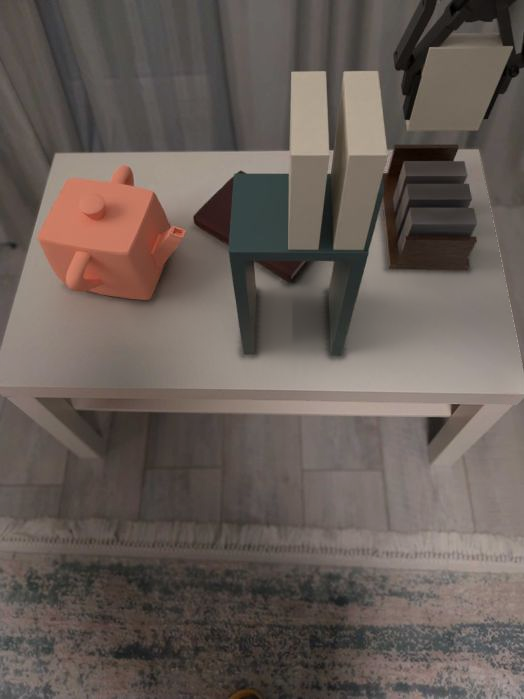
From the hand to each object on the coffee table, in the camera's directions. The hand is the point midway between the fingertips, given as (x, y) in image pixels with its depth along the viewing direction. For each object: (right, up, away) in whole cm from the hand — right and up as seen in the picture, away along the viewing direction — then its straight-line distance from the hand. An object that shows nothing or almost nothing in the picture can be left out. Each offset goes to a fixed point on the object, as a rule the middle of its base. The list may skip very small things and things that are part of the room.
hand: (444, 113), depth 70 cm
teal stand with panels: (-21, -30, +3) cm, 36 cm away
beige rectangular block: (0, -1, +2) cm, 2 cm away
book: (-26, -14, +11) cm, 31 cm away
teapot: (-46, -20, +9) cm, 51 cm away
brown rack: (0, -12, +11) cm, 16 cm away
